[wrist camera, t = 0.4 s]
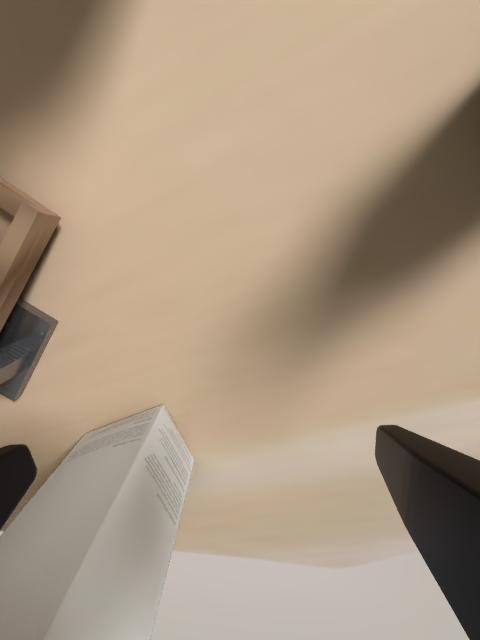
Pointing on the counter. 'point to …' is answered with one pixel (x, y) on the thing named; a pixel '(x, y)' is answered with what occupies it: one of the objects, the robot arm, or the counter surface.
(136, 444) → the skincare box
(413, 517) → the robot arm
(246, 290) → the counter surface
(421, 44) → the counter surface
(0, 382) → the pivot stand
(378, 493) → the counter surface
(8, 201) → the brown wooden tray
